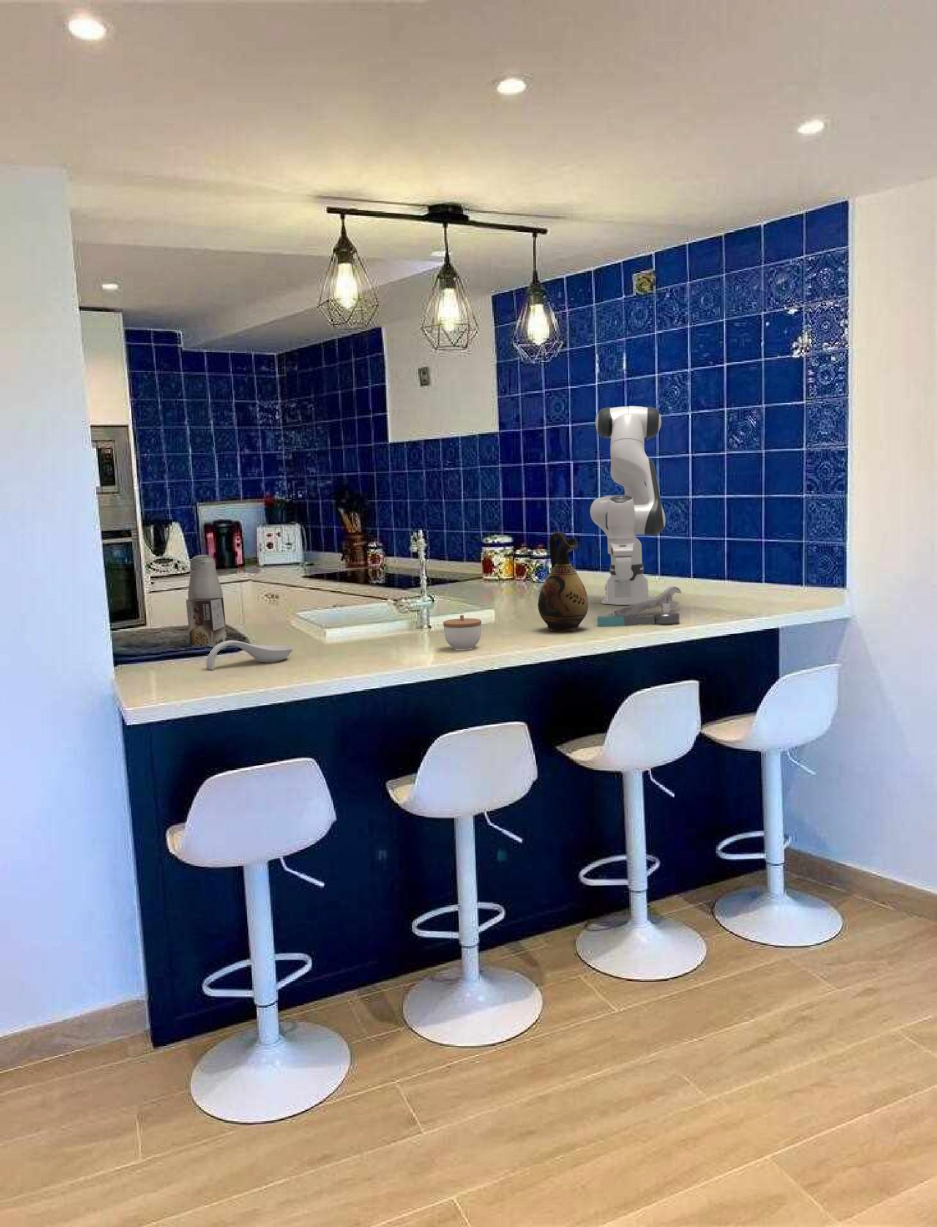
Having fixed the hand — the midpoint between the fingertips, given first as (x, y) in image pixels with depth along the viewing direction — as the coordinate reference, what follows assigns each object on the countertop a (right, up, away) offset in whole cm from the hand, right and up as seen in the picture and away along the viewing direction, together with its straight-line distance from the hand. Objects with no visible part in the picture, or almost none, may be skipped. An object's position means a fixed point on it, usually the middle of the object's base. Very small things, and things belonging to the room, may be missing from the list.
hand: (622, 591), depth 306 cm
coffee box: (-126, -19, -22) cm, 129 cm away
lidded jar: (-50, -17, -35) cm, 64 cm away
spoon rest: (-108, -21, -43) cm, 119 cm away
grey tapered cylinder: (-130, -17, -4) cm, 131 cm away
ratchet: (+4, -10, -8) cm, 14 cm away
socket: (0, -2, 0) cm, 2 cm away
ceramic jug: (-20, -12, -10) cm, 26 cm away
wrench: (+10, -8, +13) cm, 18 cm away
